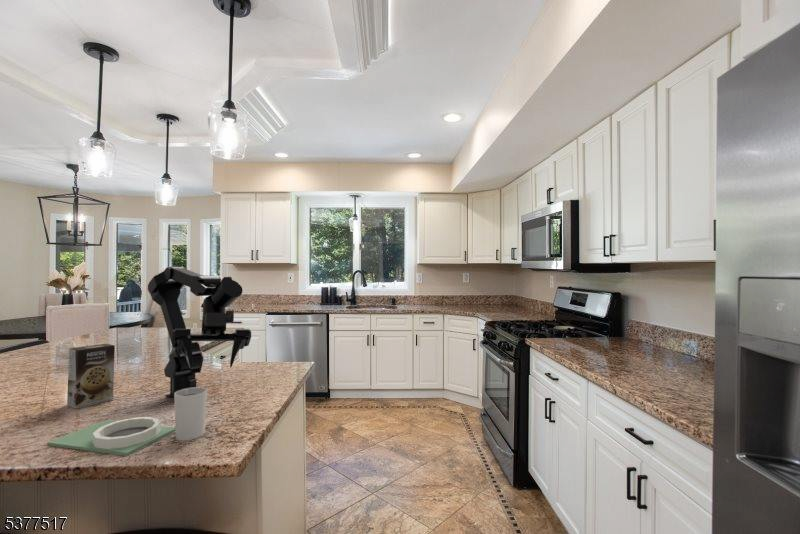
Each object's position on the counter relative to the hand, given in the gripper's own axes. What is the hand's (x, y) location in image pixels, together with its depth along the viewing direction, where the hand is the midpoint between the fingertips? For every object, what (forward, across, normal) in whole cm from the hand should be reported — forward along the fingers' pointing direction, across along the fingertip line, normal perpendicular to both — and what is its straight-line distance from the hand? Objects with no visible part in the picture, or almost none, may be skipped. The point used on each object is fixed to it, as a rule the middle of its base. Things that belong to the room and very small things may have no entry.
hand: (211, 367), depth 97 cm
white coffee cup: (+16, -4, +2) cm, 16 cm away
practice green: (+13, -19, +7) cm, 24 cm away
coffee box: (-6, -29, +33) cm, 44 cm away
